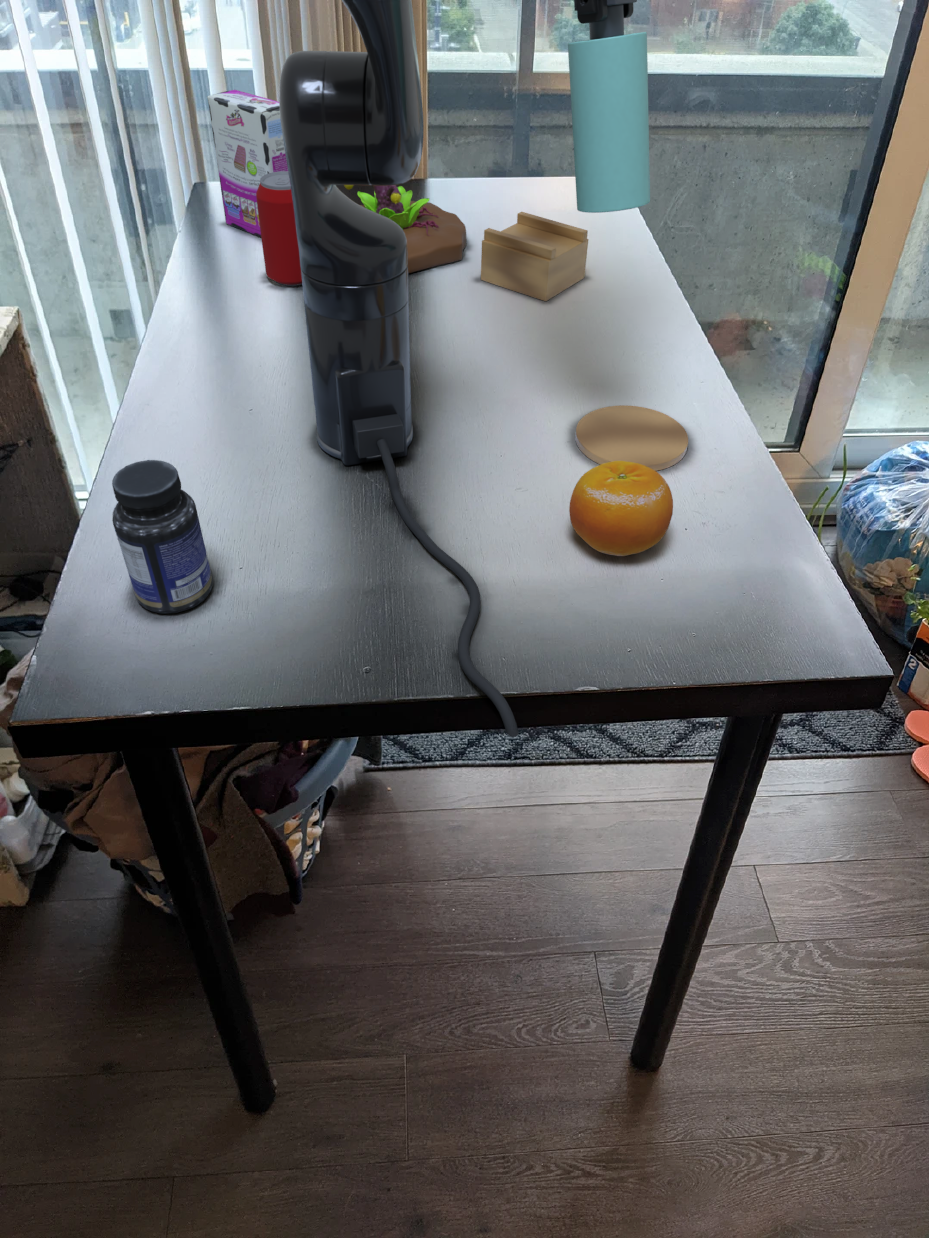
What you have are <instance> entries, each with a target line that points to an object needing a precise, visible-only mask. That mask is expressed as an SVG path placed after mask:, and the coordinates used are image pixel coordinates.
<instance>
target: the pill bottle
mask: <svg viewBox="0 0 929 1238" xmlns="http://www.w3.org/2000/svg"><path fill="white" fill-rule="evenodd" d="M111 481H112V483H111V485H112V490H113V493H114V497H115V500H116V505H115V506H114V508H113V511H112V520H111V521H112V524H113V529H114V532H115V535H116V537H117V541H118V544H119V547H120V551H121V554H122V557H123V560H124V564H125V568H126V570H127V574H128V577H129V580H130V584H131V586H132V590H133V593H134V596H135V598H136V601H137V602H138V604H140V606H142V608H144V609H146V610H148V611H150V612H152V613H156V614H157V613H158V614H175V613H180V612H183V611H187V610H190V609H192V608H195V607H196V606H198V605H199V604H201V603H203V602H204V601H205V599H207V598H208V596H209V595H210V593H211V592H212V588H213V585H214V581H213V580H214V579H213V575H212V571H211V567H210V562H209V558H208V552H207V549H206V545H205V541H204V536H203V532H202V528H201V522H200V519H199V515H198V510H197V504H196V502H195V500H194V499H193V498H192V496H191V495H190V494H188V493H187V492H186V491H185V490H184V489H182V482H181V478H180V475H179V471H178V469H177V468H176V467H175V466H174V465H173V464H172V463H170V462H167V461H164V460H158V459H146V460H140V461H135V462H133V463H130V464H127V465H125V466H124V467H123V468H120V469H119V470H118V471H117V472H116V473H115V474H114V476H113V478H112V480H111Z"/></svg>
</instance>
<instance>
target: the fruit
mask: <svg viewBox="0 0 929 1238" xmlns="http://www.w3.org/2000/svg"><path fill="white" fill-rule="evenodd" d="M568 507H569V508H568V509H569V511H568V512H569V513H568V514H569V519H570V524H571V526H572V528H573V529H574V531H575V533H576V534H577V535H578V536H579V538H581V539H582V540H583V541H584V542H585V543H586V544H587V545H588V546H589V547H591V548H592V549H594V550H595V551H597V552H598V553H602V554H605V555H610V556H616V557H626V556H630V555H636V554H639V553H642V552H645V551H646V550H649V549H650V548H653V547H654V546H656V545H657V544H659V542H660V541H661V540H662V539H663V538H664V536H665V535H666V533H667V531H668V529H669V527H670V524H671V521H672V517H673V515H674V514H673V513H674V512H673V511H674V498H673V493H672V490H671V488H670V486H669V484H668V482H667V481H666V479H665V478H664V477H663V476H662V475H661V474H660V473H659V472H658V471H655V470H653V469H651V468H649V467H647V466H645V465H642V464H639V463H634V462H627V461H612V462H607V463H604V464H598V465H597V466H594V467H592V468H590V469H589V470H587V471H586V472H584V474H583V475H582V476H580V478H579V480H577V482H576V484H575V486H574V488H573V491H572V494H571V496H570V501H569V506H568Z"/></svg>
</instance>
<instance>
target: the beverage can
mask: <svg viewBox="0 0 929 1238" xmlns="http://www.w3.org/2000/svg"><path fill="white" fill-rule="evenodd" d="M256 199H257V207H258V216H259V224H260V232H261V237H260V239H261V245H262V253H263V260H264V261H263V262H264V268H265V274H266V276H267V277H268V279H270V280H272V281H274V282H276V283H278V284H280V285H283V286H288V287H289V286H290V287H292V286H301V285H302V276H301V266H300V257H299V247H298V240H297V233H296V224H295V215H294V207H293V199H292V193H291V186H290V179H289V173H288V171H279V172H272V173H268V174H265V175H263V176H262V177H261V178H260V184H259V187H258V190H257V192H256Z"/></svg>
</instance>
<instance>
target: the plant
mask: <svg viewBox="0 0 929 1238" xmlns="http://www.w3.org/2000/svg"><path fill="white" fill-rule="evenodd" d="M354 186H355V185H343V187H344V188H345V189H346V190H347V191H350V190H352V189H353V188H354ZM371 187H372V188H373V190H374V191H373V193H374V194H373V195H374V196H373V195H371V194H370V193H367V192H364V191H363V192H362V191H359V190H358V191H357V193H356V195H357V196H358V198H360V201H361V203H362V204H359V205H360V206H362V207H364V208H366V209H369V210H371V211H373V212H376V213H378V214H380V215H383V216H385V217H387V218H389V219H391V220H393V221H394V222H395V223H397V224H398V225H399V226H400V227H401V228H402V229H403V231H404V233H405V236H406V239H407V249H408V274H412V273H415V272H419V271H423V270H427V269H431V268H433V267H438V266H442V265H446V264H451V263H455V262H459V261H462V259H463V255H464V254H463V253H464V252H463V251H464V249H465V248H466V246H467V227H466V225H465V223H464V222H463V221H462V219H461V218H460V217H459V216H458V215H457V214H456V213H453V212H450V211H446V210H444V209H442V208H441V207H439V206H438V205H436V204H434V203H432V202H430V198H429V197H427V198H421V199H419V200H417V201H414V200H412V198H413V190H411V189H410V190H408V191H406V189H405V187H404V186H402V185H399V186H398V185H389V186H373V185H371Z"/></svg>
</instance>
